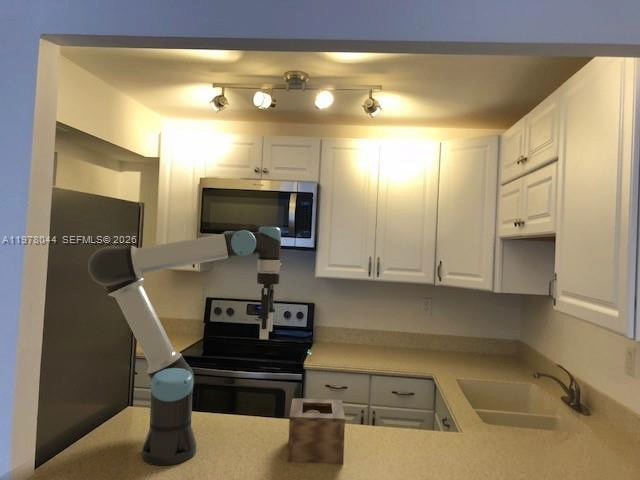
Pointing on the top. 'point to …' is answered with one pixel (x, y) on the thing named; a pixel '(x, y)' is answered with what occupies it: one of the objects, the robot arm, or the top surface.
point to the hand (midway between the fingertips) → (266, 335)
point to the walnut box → (316, 431)
